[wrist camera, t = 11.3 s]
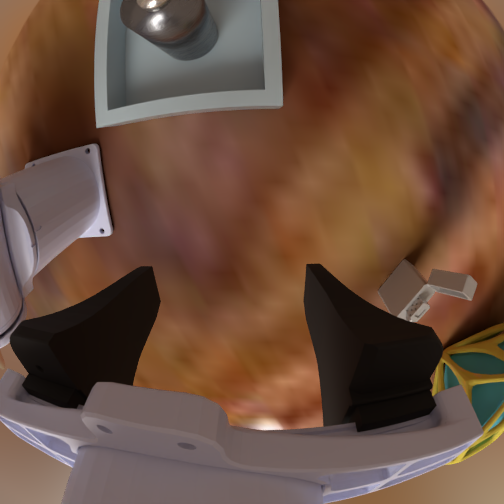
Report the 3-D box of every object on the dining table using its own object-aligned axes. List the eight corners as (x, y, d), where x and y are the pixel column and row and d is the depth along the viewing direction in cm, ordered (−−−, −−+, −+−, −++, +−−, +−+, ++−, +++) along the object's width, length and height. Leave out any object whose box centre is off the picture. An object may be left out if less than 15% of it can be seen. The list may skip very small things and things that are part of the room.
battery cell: (162, 64, 15) (110, 37, 8) (164, 19, 13) (119, -23, 6) (218, 58, 15) (192, 19, 8) (219, 11, 13) (197, -41, 6)
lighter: (387, 298, 24) (420, 356, 17) (376, 291, 24) (409, 351, 17) (432, 241, 21) (482, 288, 14) (422, 232, 21) (473, 279, 14)
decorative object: (417, 394, 39) (463, 441, 27) (355, 432, 25) (423, 509, 14) (491, 287, 32) (547, 333, 21) (482, 264, 19) (580, 344, 8)
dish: (119, 125, 18) (96, 128, 15) (121, -2, 12) (101, -16, 9) (278, 108, 17) (283, 105, 14) (271, -26, 12) (273, -48, 9)
